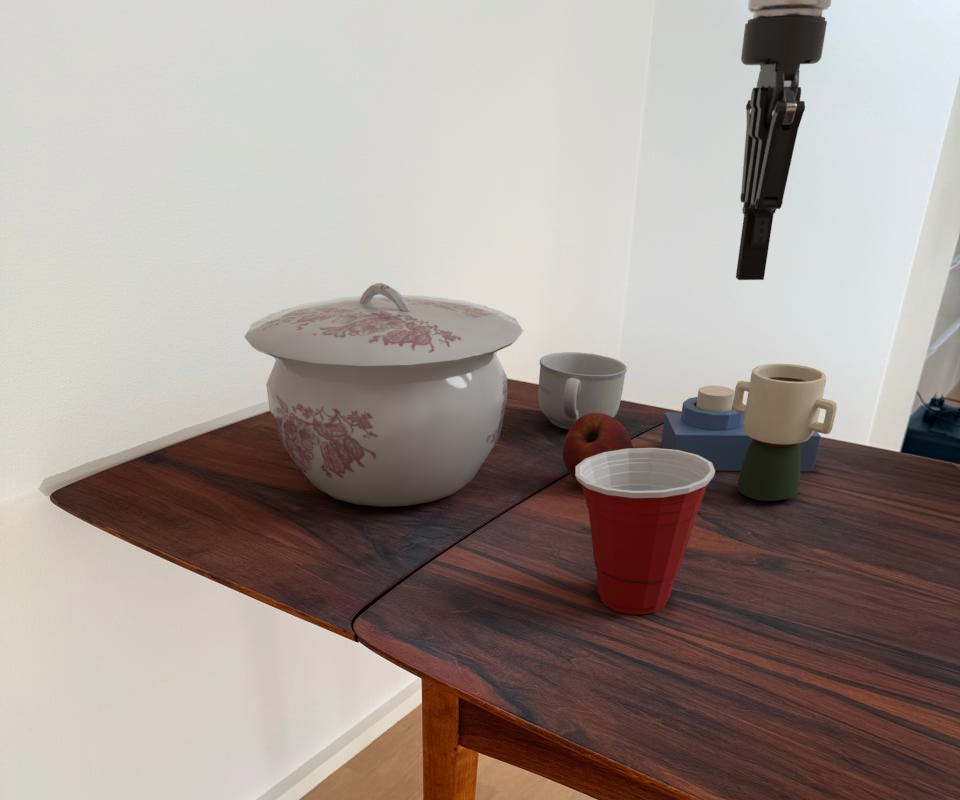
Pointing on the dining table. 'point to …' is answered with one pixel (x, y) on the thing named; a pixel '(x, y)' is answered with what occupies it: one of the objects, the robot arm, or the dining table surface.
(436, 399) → the chamber pot
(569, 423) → the teacup
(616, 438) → the apple
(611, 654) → the dining table surface
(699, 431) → the blue rectangular block
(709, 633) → the dining table surface
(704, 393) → the button
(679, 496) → the plastic cup
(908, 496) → the dining table surface
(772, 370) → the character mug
